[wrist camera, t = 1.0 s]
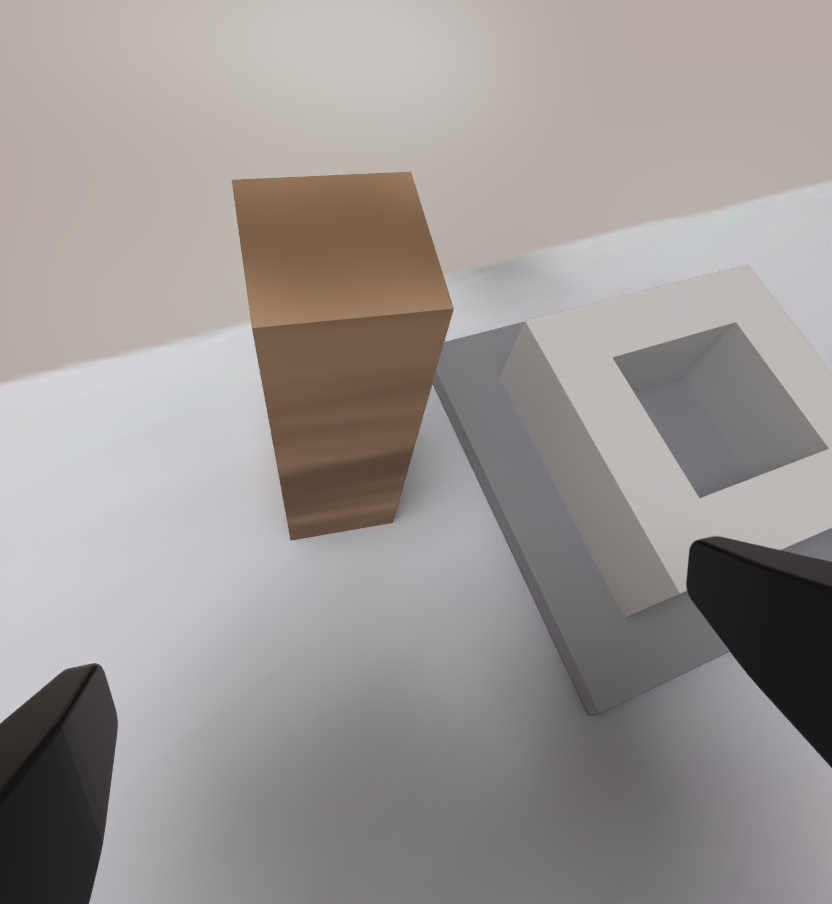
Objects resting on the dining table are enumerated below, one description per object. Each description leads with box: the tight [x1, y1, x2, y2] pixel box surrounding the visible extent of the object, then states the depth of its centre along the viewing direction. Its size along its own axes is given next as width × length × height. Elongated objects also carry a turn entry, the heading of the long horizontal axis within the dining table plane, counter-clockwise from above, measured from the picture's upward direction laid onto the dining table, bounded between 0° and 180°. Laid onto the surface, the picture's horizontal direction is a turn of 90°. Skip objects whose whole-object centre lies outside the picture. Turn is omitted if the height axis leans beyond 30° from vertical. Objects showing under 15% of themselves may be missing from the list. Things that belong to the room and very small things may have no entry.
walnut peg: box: [232, 172, 454, 540], centre depth 18 cm, size 4×4×13 cm
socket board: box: [433, 264, 832, 715], centre depth 24 cm, size 16×16×5 cm
